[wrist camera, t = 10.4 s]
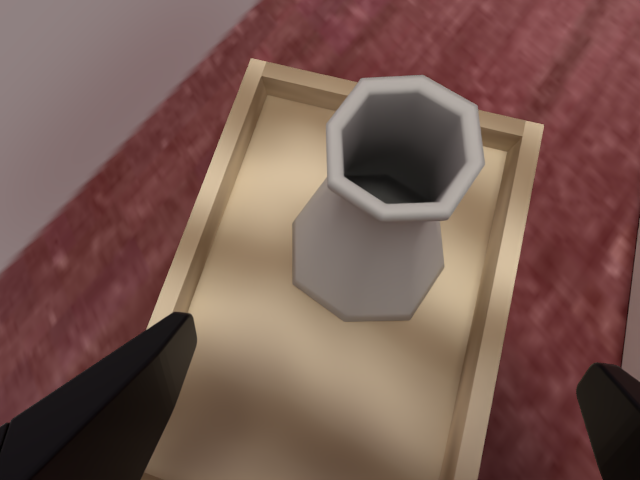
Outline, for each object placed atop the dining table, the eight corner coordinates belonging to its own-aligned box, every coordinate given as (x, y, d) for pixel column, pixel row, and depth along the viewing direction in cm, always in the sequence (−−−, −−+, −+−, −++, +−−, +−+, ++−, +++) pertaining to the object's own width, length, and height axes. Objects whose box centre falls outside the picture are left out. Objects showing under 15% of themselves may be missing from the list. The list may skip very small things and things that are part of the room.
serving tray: (428, 588, 15) (446, 642, 12) (120, 471, 16) (81, 498, 14) (517, 150, 18) (544, 124, 16) (261, 90, 20) (251, 58, 18)
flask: (268, 297, 16) (166, 265, 7) (315, 157, 18) (287, -38, 8) (423, 346, 16) (564, 391, 6) (460, 195, 17) (622, 30, 7)
